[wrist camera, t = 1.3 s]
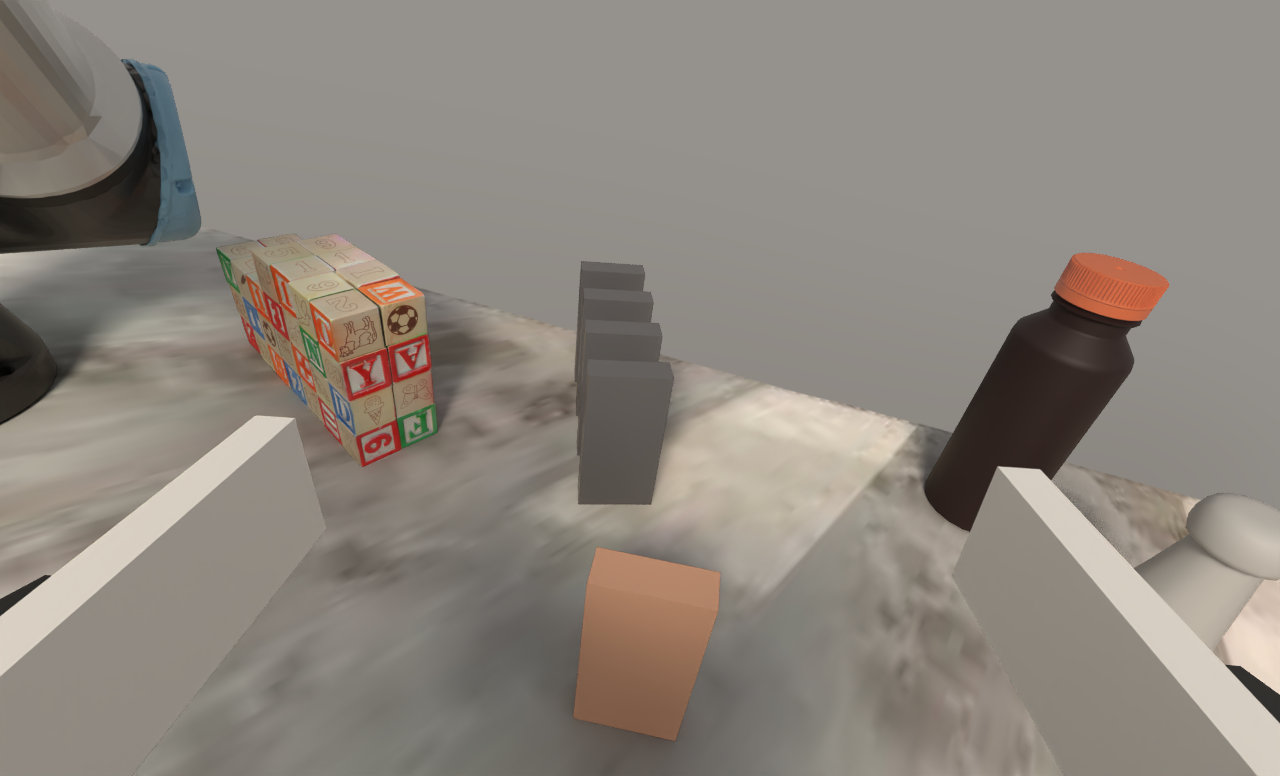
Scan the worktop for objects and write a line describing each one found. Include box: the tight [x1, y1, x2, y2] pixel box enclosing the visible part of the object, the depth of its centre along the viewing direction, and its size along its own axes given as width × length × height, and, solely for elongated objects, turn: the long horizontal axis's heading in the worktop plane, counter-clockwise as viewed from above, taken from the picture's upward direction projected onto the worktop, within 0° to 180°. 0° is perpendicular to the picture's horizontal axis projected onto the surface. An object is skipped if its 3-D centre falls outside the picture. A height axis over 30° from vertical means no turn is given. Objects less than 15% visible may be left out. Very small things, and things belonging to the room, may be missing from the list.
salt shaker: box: [1134, 493, 1280, 651], centre depth 31 cm, size 6×6×13 cm
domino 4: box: [578, 359, 674, 504], centre depth 38 cm, size 2×5×11 cm, turn 96°
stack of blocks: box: [216, 234, 438, 467], centre depth 45 cm, size 21×6×12 cm, turn 48°
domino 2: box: [576, 288, 653, 416], centre depth 46 cm, size 2×5×11 cm, turn 96°
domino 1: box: [575, 261, 645, 382], centre depth 50 cm, size 2×5×11 cm, turn 96°
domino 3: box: [577, 319, 662, 455], centre depth 42 cm, size 2×5×11 cm, turn 95°
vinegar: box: [926, 253, 1169, 532], centre depth 39 cm, size 7×7×20 cm
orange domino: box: [573, 547, 720, 741], centre depth 26 cm, size 2×5×11 cm, turn 81°
